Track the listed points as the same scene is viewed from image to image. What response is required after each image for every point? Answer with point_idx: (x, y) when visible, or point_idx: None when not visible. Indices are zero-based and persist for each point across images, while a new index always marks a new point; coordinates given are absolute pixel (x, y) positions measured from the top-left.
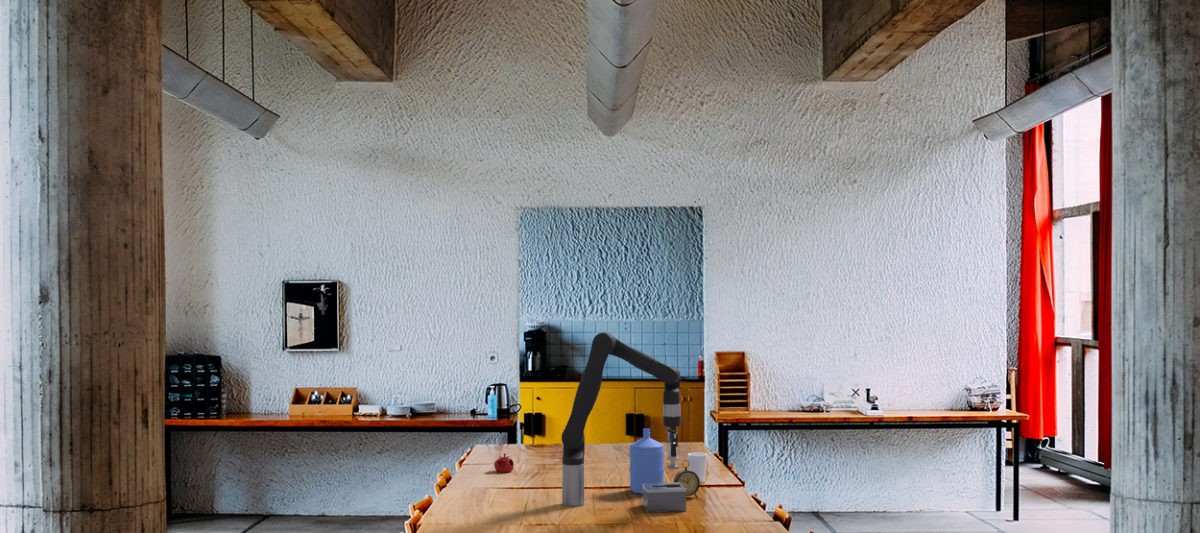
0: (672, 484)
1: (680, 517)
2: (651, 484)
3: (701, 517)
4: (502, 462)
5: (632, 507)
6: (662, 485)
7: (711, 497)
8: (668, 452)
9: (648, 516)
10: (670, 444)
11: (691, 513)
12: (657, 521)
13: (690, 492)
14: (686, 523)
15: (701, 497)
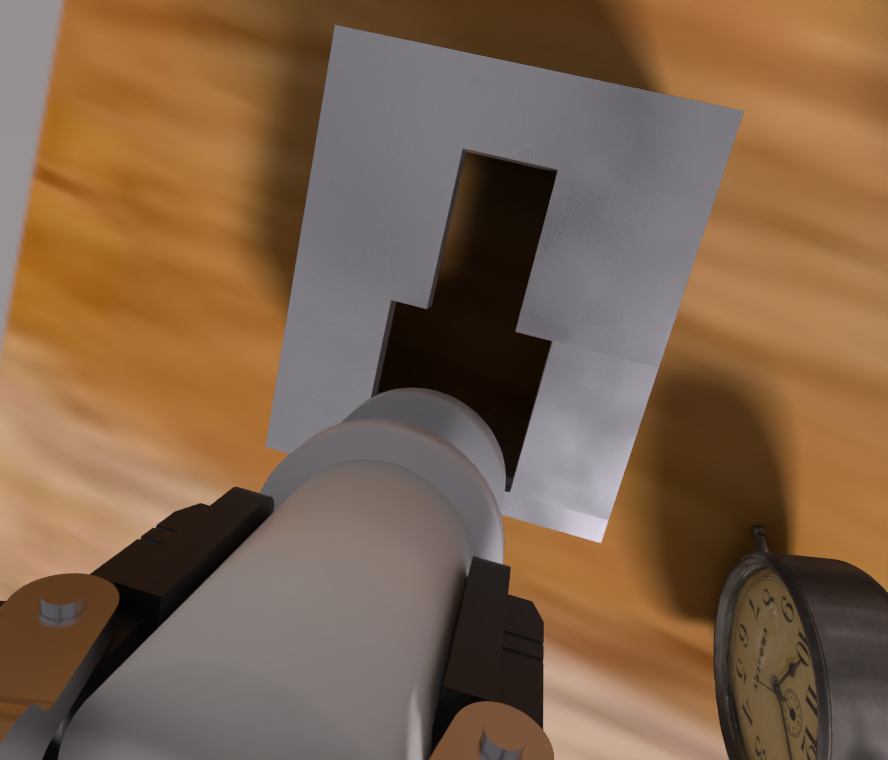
0: (528, 426)
1: (180, 273)
2: (625, 199)
3: (146, 407)
4: None
5: (627, 15)
6: (523, 303)
7: (676, 755)
8: (323, 506)
9: (272, 43)
10: (74, 654)
11: (266, 397)
12: (111, 57)
13: (736, 646)
14: (20, 241)
15: (712, 698)
